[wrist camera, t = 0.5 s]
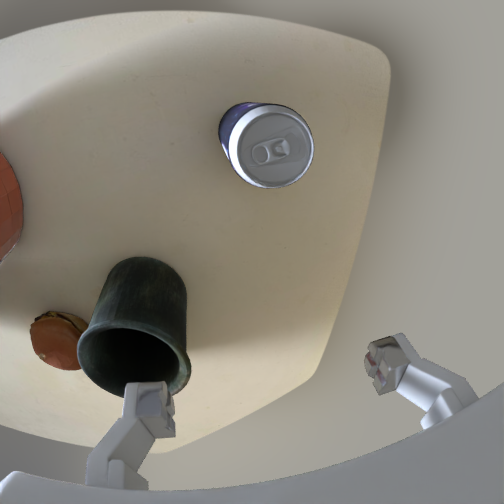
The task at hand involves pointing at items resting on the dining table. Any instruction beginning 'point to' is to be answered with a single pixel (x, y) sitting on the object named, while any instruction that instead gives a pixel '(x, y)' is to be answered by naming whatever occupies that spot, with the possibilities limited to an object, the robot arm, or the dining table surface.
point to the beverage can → (266, 143)
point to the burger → (58, 339)
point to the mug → (138, 329)
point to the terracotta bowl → (9, 209)
